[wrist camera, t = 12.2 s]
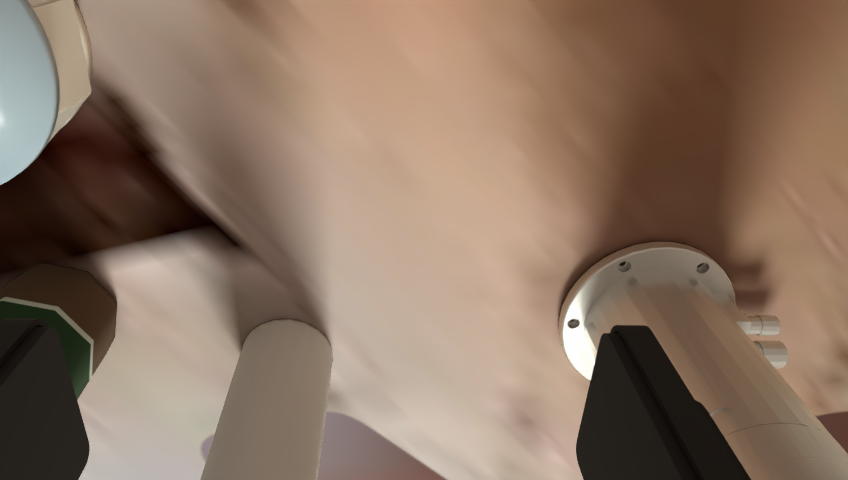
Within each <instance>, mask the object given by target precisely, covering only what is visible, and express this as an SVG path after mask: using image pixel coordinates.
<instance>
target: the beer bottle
mask: <svg viewBox="0 0 848 480" xmlns="http://www.w3.org/2000/svg"><path fill="white" fill-rule="evenodd" d="M116 312H117V301H116V300H115V299H114V298H113V297H112V296H111V295H110V294H109V293H108V292H107V291H106V290H105V289H104V288H103V287H102V286H101V285H100V284H99V283H98V282H97V281H96V280H95V279H94V278H93V277H92V276H91V275H90V274H89V273H88V272H86V271H81V270H76V269H71V268H66V267H61V266H56V265H51V264H46V263H41V264H39V265H37V266H35V267H33V268H32V269H30V270H28V271H27V272H25V273H23V274H22V275H20V276H18V277H16V278H15V279H13V280H11V281H10V282H8V283H6V284H5V285H4V286H3V287H2V288H0V320H1V319H5V318H28V319H42V320H44V321H45V322H46V323H47V325H48V327H52V328H55V329H56V330H57V332H58V334H59V338H60V341H61V345H62V348H63V352H64V355H65V359H66V363H67V366H68V370H69V373H70V377H71V380H72V384H73V388H74V391H75V395H76V398H77V399H78V398H79V396H80V395H81V393H82V391H83V390H84V388H85V387H86V385H87V383H88V382H89V380H90V379H91V377H92V375H93V374H94V372H95V371H96V369H97V368H98V366H99V364H100V363H101V361H102V360H103V358H104V356H105V355H106V353H107V351H108V349H109V347H110V346H111V344H112V342H113V340H114V338H115V327H116Z"/></svg>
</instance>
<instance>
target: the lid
mask: <svg viewBox="0 0 848 480" xmlns="http://www.w3.org/2000/svg"><path fill="white" fill-rule="evenodd" d="M59 103H60V84H59V76H58V70H57V64H56V60H55V57H54V54H53V50H52V47H51V44H50V42H49V39H48V37H47V35H46V32H45V30H44V28H43V25H42V24H41V22H40V20H39V18H38V17H37V15H36V13H35V11H34V10H33V8H32V6H31V5H30V3H29V2H28V0H0V185H1V184H3V183H5V182H7V181H9V180H10V179H12V178H13V177H15V176H16V175H17V174H19V173H20V172H22V171H23V170H24V169H26V168H27V167H28V166H29V165H30V164H32V163H33V162H34V161H35V160H36V159H37V158H38V157H39V155H40V154H41V152H42V151H43V150H44V148H45V147H46V145H47V144H48V142H49V140H50V137H51V135H52V133H53V131H54V128H55V124H56V121H57V117H58V111H59Z"/></svg>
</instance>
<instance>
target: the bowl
mask: <svg viewBox="0 0 848 480" xmlns="http://www.w3.org/2000/svg"><path fill="white" fill-rule="evenodd" d="M28 2H29V3H30V5H31V6H32V8H33V10H34V11H35V13H36V15H37V17H38V18H39V20H40V22H41V24H42V25H43V28H44V30H45V32H46V35H47V37H48V39H49V42H50V44H51V47H52V50H53V54H54V57H55V60H56V64H57V70H58V76H59V84H60V103H59V111H58V117H57V121H56V124H55V128H54V131H53V133H52V135H51V137H50V140H51V139H52V138H53V137H54V135H55V134H56V133H57V132H58V131H59V130H60V129H61V128H62V127H64V126H65V125H66V124H67V123H68V122H69V121H70V120H71V119H72V118H73V117H74V116H75V115H76V113H77V112H78V110H79V109H80V108H81V106H82V104H83V102H84V101H85V100H86V99H87V97H88V96H89V95H90V94H91V93H90V92H91V86H90V81H91V74H92V53H91V45H90V40H89V36H88V32H87V28H86V26H85V23H84V20H83V18H82V15H81V13H80V11H79V9H78V7H77V5H76V3H75V1H74V0H28ZM50 140H49V141H50Z"/></svg>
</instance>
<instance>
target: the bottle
mask: <svg viewBox="0 0 848 480" xmlns="http://www.w3.org/2000/svg"><path fill="white" fill-rule="evenodd" d="M332 362H333V355H332V348H331V346H330V344H329V342H328V340H327V338H326V337H325V336H324V335H323V334H322V333H321V332H320V331H319V330H318V329H316V328H315V327H313V326H311V325H309V324H307V323H304V322H302V321H298V320H292V319H278V320H272V321H269V322H265V323H263V324H261V325H259V326H258V327H256V328H255V329H254V330H252V331H251V332H250V334H249V335H248V337H247V338H246V340H245V341H244V345H243V348H242V351H241V354H240V357H239V360H238V363H237V366H236V369H235V372H234V375H233V378H232V381H231V384H230V388H229V391H228V394H227V397H226V400H225V403H224V407H223V410H222V413H221V416H220V419H219V423H218V426H217V429H216V432H215V435H214V439H213V442H212V445H211V448H210V452H209V455H208V458H207V461H206V464H205V467H204V470H203V474H202V477H201V480H317V476H318V469H319V461H320V454H321V447H322V438H323V432H324V424H325V417H326V410H327V402H328V395H329V387H330V377H331V367H332Z"/></svg>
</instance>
